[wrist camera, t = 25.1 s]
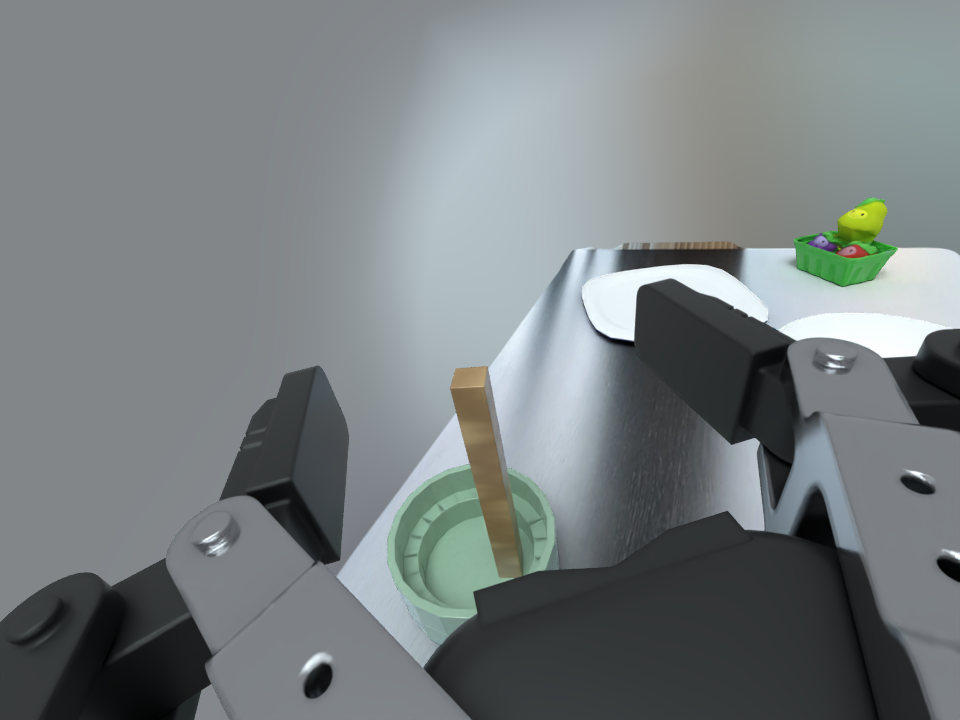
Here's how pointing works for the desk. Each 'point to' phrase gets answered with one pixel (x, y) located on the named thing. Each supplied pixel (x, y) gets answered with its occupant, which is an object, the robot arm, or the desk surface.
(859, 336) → the bowl
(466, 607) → the mixing bowl
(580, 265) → the desk surface
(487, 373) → the stirring stick
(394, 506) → the desk surface
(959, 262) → the desk surface
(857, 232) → the fruit basket
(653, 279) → the plate
